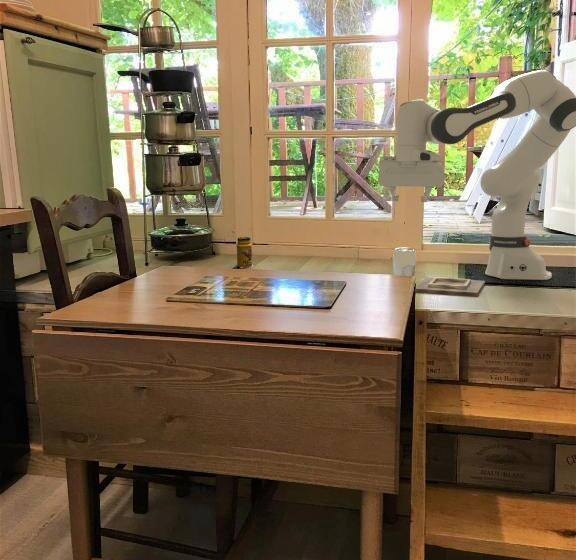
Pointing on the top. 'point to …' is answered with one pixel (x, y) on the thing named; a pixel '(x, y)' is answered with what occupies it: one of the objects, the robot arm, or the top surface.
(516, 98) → the robot arm
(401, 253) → the beer glass
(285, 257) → the top surface
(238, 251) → the condiment
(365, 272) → the top surface
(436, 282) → the walnut board
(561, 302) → the top surface
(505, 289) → the top surface
